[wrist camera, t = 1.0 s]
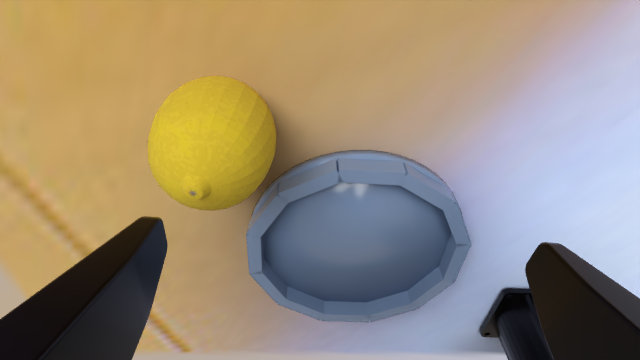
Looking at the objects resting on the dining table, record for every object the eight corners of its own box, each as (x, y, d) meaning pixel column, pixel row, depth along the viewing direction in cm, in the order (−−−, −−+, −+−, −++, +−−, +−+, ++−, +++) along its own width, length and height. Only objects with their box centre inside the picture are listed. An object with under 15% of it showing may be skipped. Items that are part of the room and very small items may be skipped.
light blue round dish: (431, 304, 31) (437, 325, 30) (254, 298, 31) (250, 319, 29) (490, 156, 23) (504, 175, 21) (243, 143, 22) (237, 162, 20)
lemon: (285, 60, 19) (268, 138, 13) (279, 151, 22) (263, 250, 16) (175, 47, 19) (100, 121, 12) (186, 141, 22) (131, 239, 15)
